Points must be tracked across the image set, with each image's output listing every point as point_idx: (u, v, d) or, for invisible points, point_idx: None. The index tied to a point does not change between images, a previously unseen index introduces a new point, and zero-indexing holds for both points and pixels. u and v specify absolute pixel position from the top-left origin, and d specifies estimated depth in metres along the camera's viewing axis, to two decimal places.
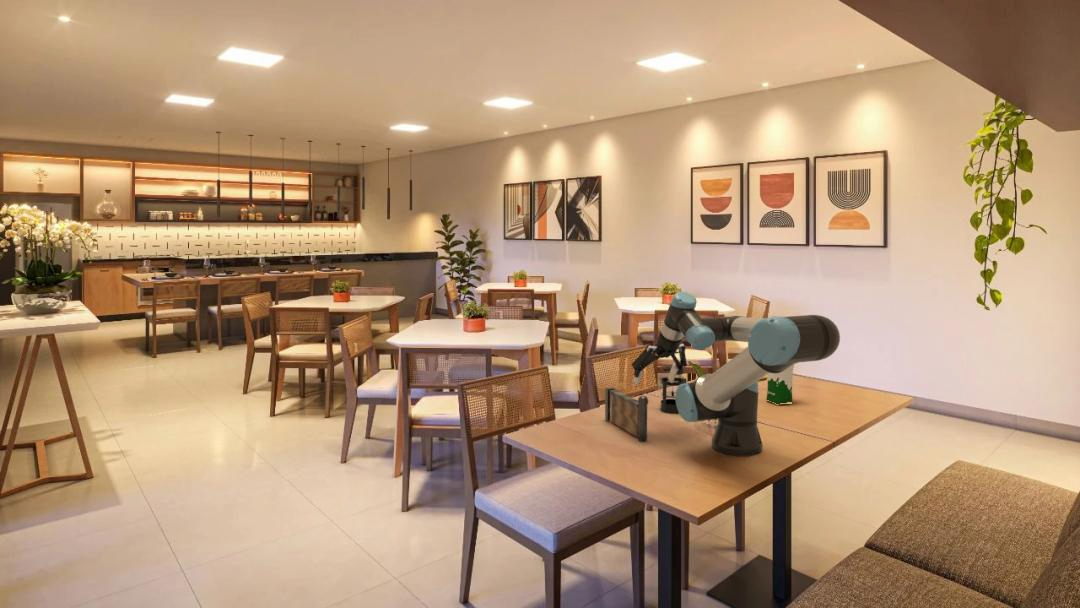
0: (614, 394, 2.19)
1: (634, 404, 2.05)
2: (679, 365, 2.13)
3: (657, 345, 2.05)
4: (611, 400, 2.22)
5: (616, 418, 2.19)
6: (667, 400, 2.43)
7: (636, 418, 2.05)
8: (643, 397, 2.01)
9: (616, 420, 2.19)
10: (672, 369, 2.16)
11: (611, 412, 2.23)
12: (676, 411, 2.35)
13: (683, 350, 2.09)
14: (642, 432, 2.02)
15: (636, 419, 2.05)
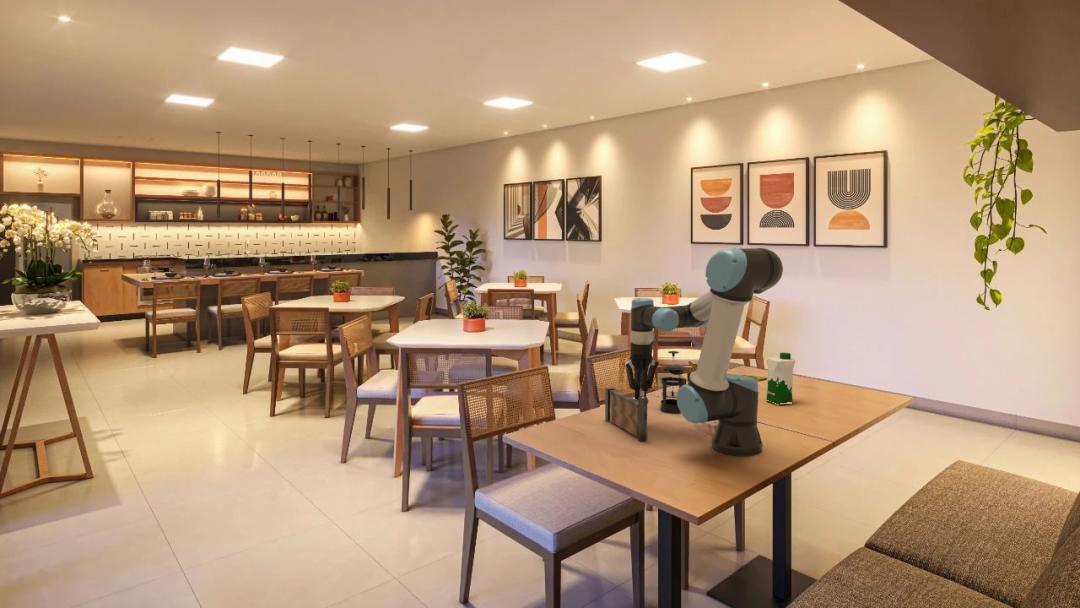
0: (614, 394, 2.19)
1: (634, 404, 2.05)
2: (645, 386, 2.17)
3: (630, 358, 2.15)
4: (611, 400, 2.22)
5: (616, 418, 2.19)
6: (667, 400, 2.43)
7: (636, 418, 2.05)
8: (643, 397, 2.01)
9: (616, 420, 2.19)
10: None
11: (611, 412, 2.23)
12: (676, 411, 2.35)
13: (655, 365, 2.17)
14: (642, 432, 2.02)
15: (636, 419, 2.05)
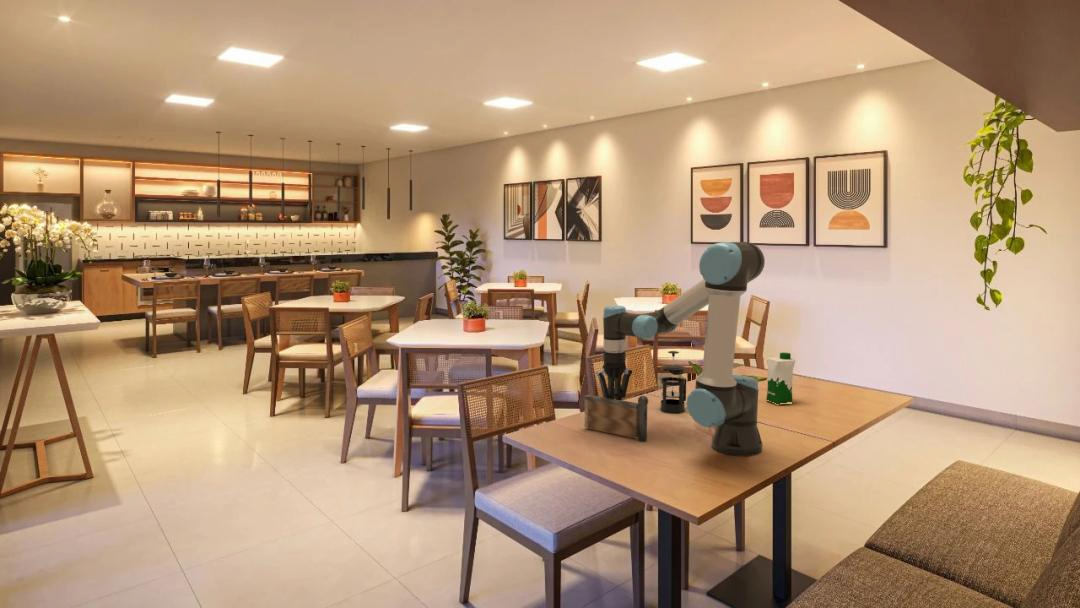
0: (593, 399, 2.12)
1: (631, 405, 2.04)
2: (619, 395, 2.14)
3: None
4: (587, 406, 2.15)
5: (596, 423, 2.13)
6: (667, 400, 2.43)
7: (634, 419, 2.04)
8: (643, 397, 2.01)
9: (595, 425, 2.13)
10: None
11: (586, 418, 2.15)
12: (676, 411, 2.35)
13: (629, 374, 2.14)
14: (642, 432, 2.02)
15: (634, 420, 2.04)
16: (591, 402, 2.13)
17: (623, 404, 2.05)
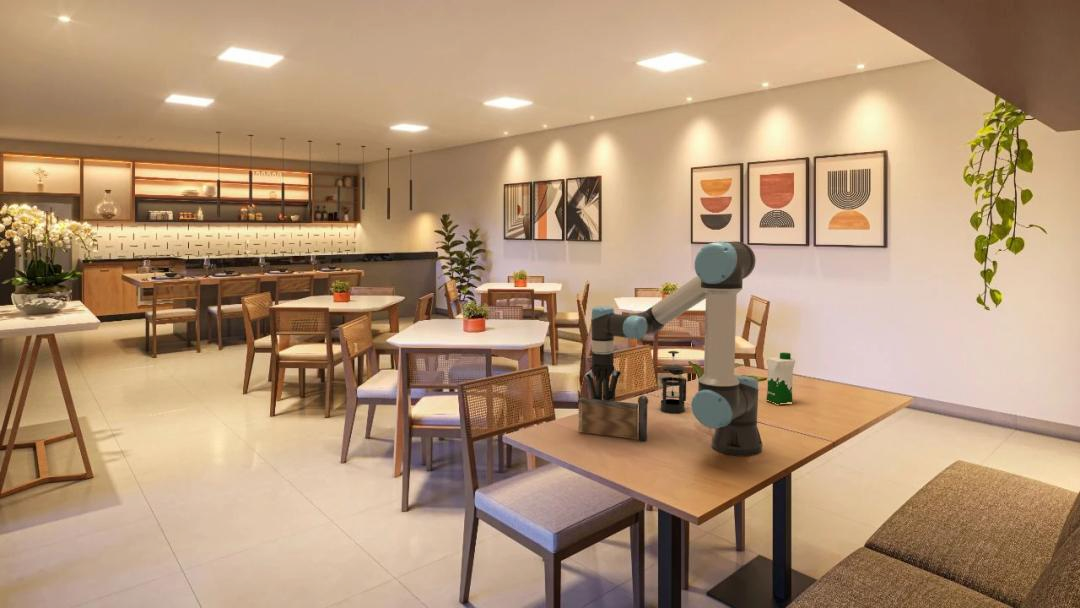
0: (589, 402, 2.09)
1: (631, 406, 2.03)
2: (607, 396, 2.12)
3: None
4: (581, 409, 2.10)
5: (592, 426, 2.09)
6: (667, 400, 2.43)
7: (633, 420, 2.03)
8: (643, 397, 2.01)
9: (591, 428, 2.10)
10: None
11: (580, 422, 2.11)
12: (676, 411, 2.35)
13: (617, 375, 2.13)
14: (642, 432, 2.02)
15: (634, 421, 2.03)
16: (586, 405, 2.10)
17: (622, 405, 2.04)
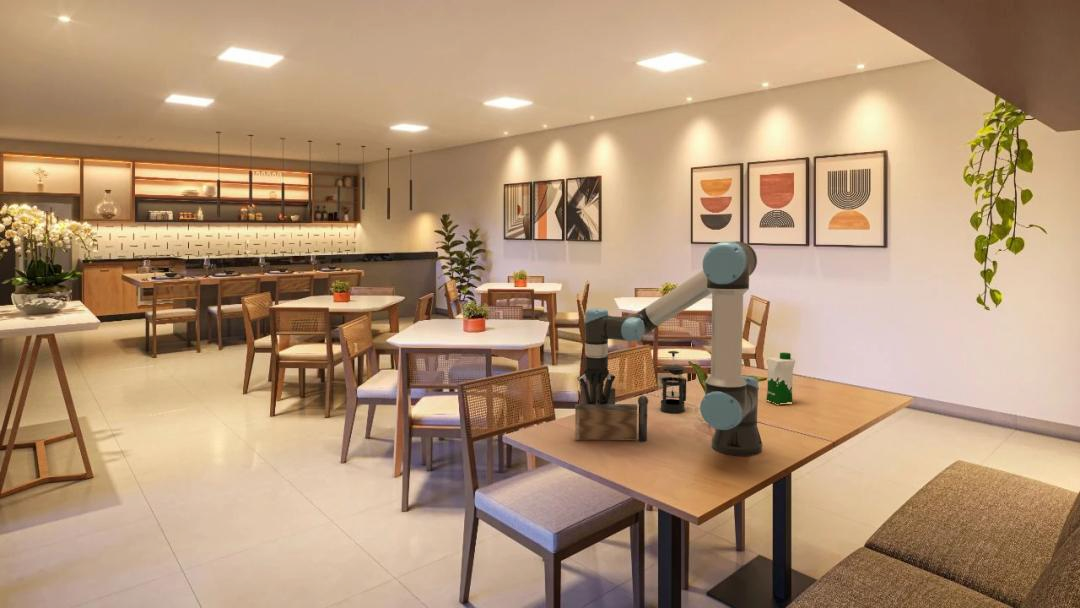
0: (587, 407, 2.02)
1: (632, 407, 2.01)
2: (601, 401, 2.06)
3: (584, 372, 2.04)
4: (578, 416, 2.02)
5: (590, 432, 2.03)
6: (667, 400, 2.43)
7: (634, 421, 2.02)
8: (643, 397, 2.01)
9: (589, 434, 2.03)
10: None
11: (577, 429, 2.03)
12: (676, 411, 2.35)
13: (612, 379, 2.06)
14: (642, 432, 2.02)
15: (635, 422, 2.02)
16: (583, 411, 2.02)
17: (623, 407, 2.01)
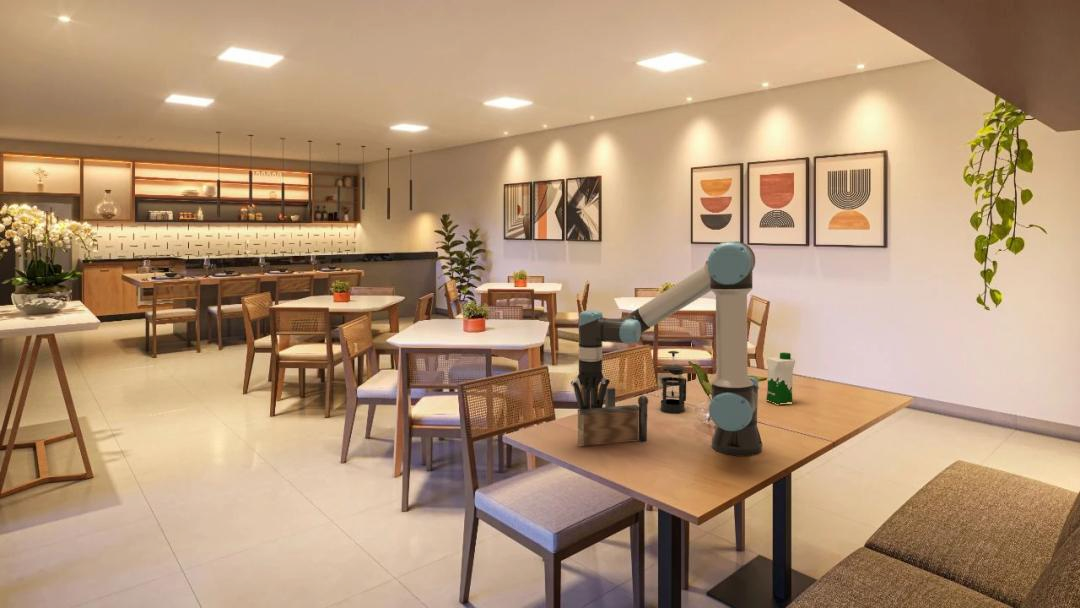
0: (591, 412, 1.96)
1: (634, 408, 2.00)
2: (595, 406, 2.00)
3: None
4: (582, 421, 1.96)
5: (594, 437, 1.98)
6: (667, 400, 2.43)
7: (636, 422, 2.01)
8: (643, 397, 2.01)
9: (593, 439, 1.98)
10: None
11: (582, 435, 1.97)
12: (676, 411, 2.35)
13: (606, 384, 2.00)
14: (642, 432, 2.02)
15: (636, 422, 2.01)
16: (588, 416, 1.97)
17: (625, 409, 1.99)
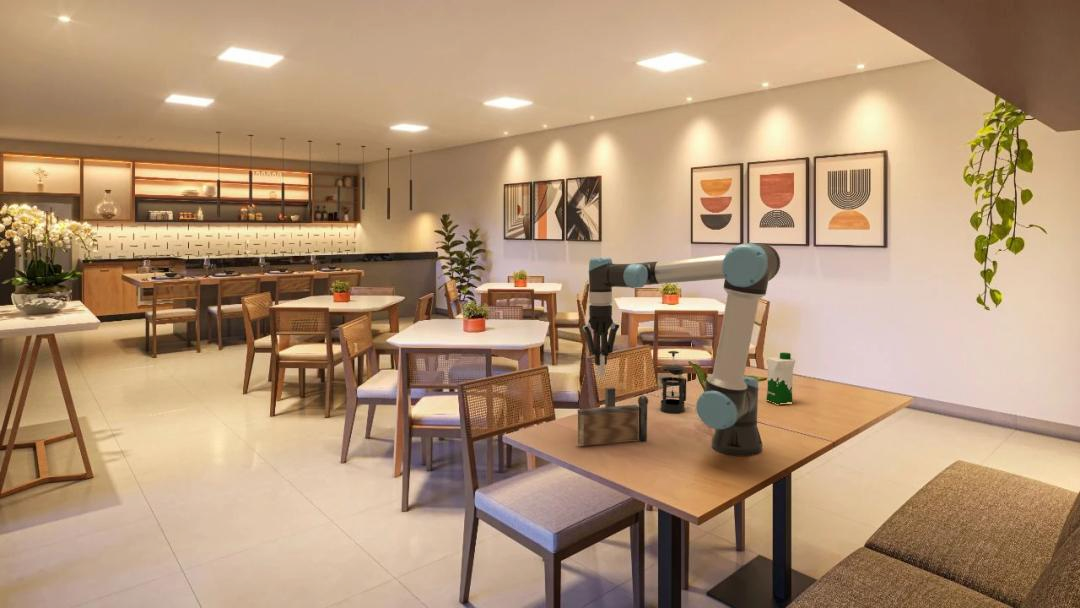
0: (591, 412, 1.96)
1: (634, 408, 2.00)
2: (606, 350, 2.06)
3: None
4: (582, 421, 1.96)
5: (594, 437, 1.98)
6: (667, 400, 2.43)
7: (636, 422, 2.01)
8: (643, 397, 2.01)
9: (593, 439, 1.98)
10: None
11: (582, 435, 1.97)
12: (676, 411, 2.35)
13: (616, 328, 2.07)
14: (642, 432, 2.02)
15: (636, 422, 2.01)
16: (588, 416, 1.97)
17: (625, 409, 1.99)
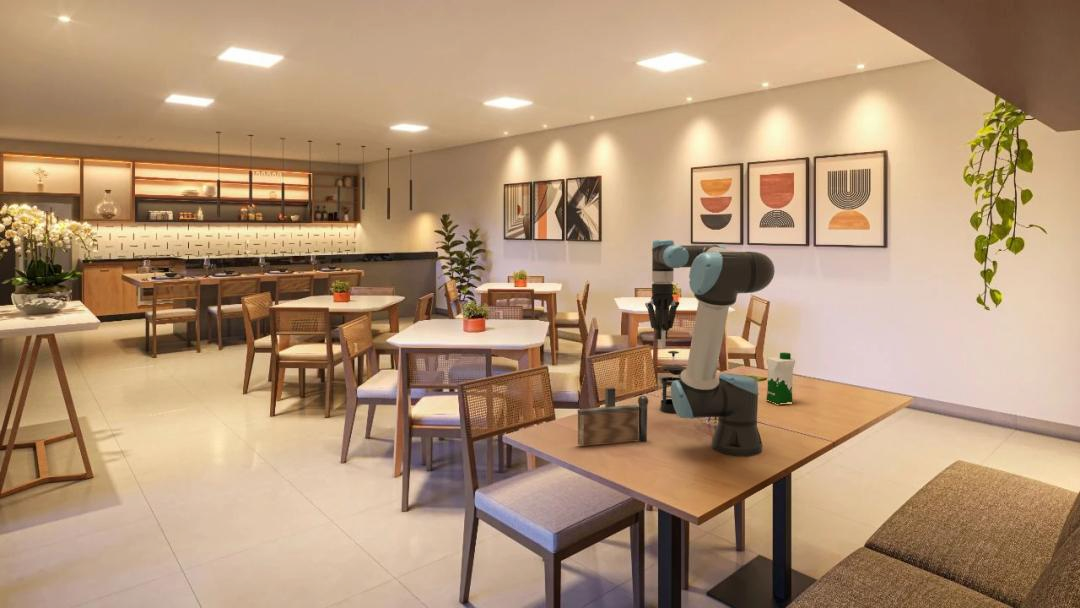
0: (591, 412, 1.96)
1: (634, 408, 2.00)
2: (667, 325, 2.23)
3: None
4: (582, 421, 1.96)
5: (594, 437, 1.98)
6: (667, 400, 2.43)
7: (636, 422, 2.01)
8: (643, 397, 2.01)
9: (593, 439, 1.98)
10: None
11: (582, 435, 1.97)
12: None
13: (676, 305, 2.24)
14: (642, 432, 2.02)
15: (636, 422, 2.01)
16: (588, 416, 1.97)
17: (625, 409, 1.99)
